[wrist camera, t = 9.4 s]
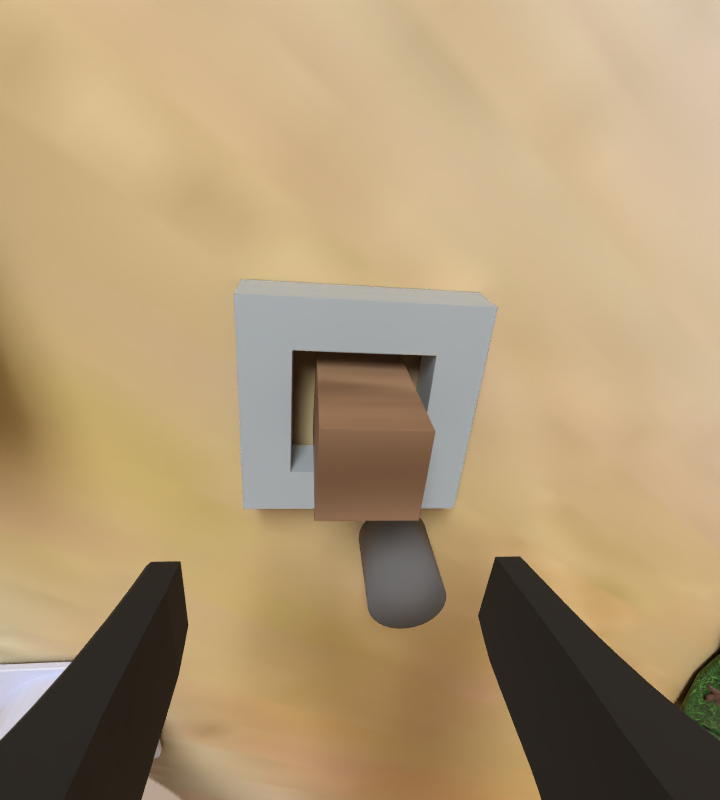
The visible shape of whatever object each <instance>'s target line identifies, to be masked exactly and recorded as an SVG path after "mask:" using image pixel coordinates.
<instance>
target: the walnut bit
mask: <svg viewBox="0 0 720 800" xmlns="http://www.w3.org/2000/svg"><path fill="white" fill-rule="evenodd" d="M435 432H436V431H435V429H434V427H433V425H432V423H431V421H430V418H429V416H428V414H427V412H426V410H425V408H424V406H423V403H422V401H421V399H420V397H419V395H418V393H417V390H416V388H415V386H414V384H413V382H412V380H411V378H410V375H409V373H408V371H407V369H406V367H405V365H404V362H403V360H402V358H401V356H400V355H387V354H365V353H343V352H321V351H316V372H315V393H314V414H313V459H314V521H419V517H420V512H421V506H422V501H423V496H424V490H425V485H426V480H427V475H428V469H429V464H430V459H431V453H432V448H433V443H434V437H435Z"/></svg>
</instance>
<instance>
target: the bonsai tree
mask: <svg viewBox="0 0 720 800" xmlns="http://www.w3.org/2000/svg"><path fill="white" fill-rule="evenodd" d="M679 709H680V710H682V711H683V712H684V713H685V714H686V715H688V716H689V717H690V718H691V719H693V720H694V721H695V722H696V723H697V724H699V725H700V726H701V727H703V728H704V729H705V730H706V731H708V732H709V733H710V734H712V735H713V736H714V737H715V738H717V739H718V740H719V741H720V653H719V654H718V655H717V656H716V657H715V658H714V659H712V660H711V661H710V662H709V663H708V664H706V665H705V666H704V667H703V668H702V669H701V670H699V672H698V674H697V676H696V677H695V679H694V681H693V683H692V685H691V687H690V689H689V691H688V693H687V695H686V696H685V698H684V700H683V702H682V704H681V706H680V708H679Z"/></svg>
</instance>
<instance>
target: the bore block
mask: <svg viewBox="0 0 720 800" xmlns="http://www.w3.org/2000/svg"><path fill="white" fill-rule="evenodd" d="M234 307H235V330H236V352H237V375H238V398H239V420H240V443H241V466H242V488H243V509H314V459H313V445H292V405H293V350H300V351H326V352H352V353H378V354H404V355H422V357H421V363H420V370H419V377H418V383H417V393H418V395H419V397H420V399H421V401H422V403H423V406H424V408H425V410H426V412H427V414H428V416H429V418H430V421H431V423H432V425H433V427H434V429H435V431H436V432H435V437H434V443H433V448H432V453H431V459H430V464H429V469H428V475H427V480H426V485H425V490H424V496H423V501H422V506H421V508H454V505H455V500H456V495H457V491H458V486H459V482H460V477H461V473H462V468H463V464H464V459H465V455H466V450H467V445H468V441H469V436H470V432H471V427H472V423H473V418H474V414H475V409H476V404H477V400H478V395H479V391H480V386H481V382H482V377H483V373H484V368H485V364H486V359H487V354H488V350H489V345H490V341H491V336H492V332H493V327H494V323H495V318H496V313H497V309H498V307H497V306H496V305H494V304H493V303H492V302H491V301H489V300H488V299H487V298H485V297H484V296H483V295H482V294H480V293H478V292H460V291H442V290H425V289H407V288H389V287H372V286H354V285H337V284H319V283H301V282H284V281H266V280H248V279H241V281H240V283H239V285H238V287H237V289H236V290H235V292H234Z"/></svg>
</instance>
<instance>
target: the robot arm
mask: <svg viewBox="0 0 720 800" xmlns="http://www.w3.org/2000/svg"><path fill="white" fill-rule="evenodd" d="M478 617H479V621H480V625H481V629H482V633H483V637H484V641H485V645H486V648H487V652H488V656H489V659H490V662H491V665H492V668H493V671H494V673H495V676H496V679H497V681H498V684H499V687H500V689H501V692H502V694H503V697H504V700H505V702H506V705H507V708H508V710H509V713H510V715H511V718H512V720H513V723H514V726H515V728H516V731H517V733H518V736H519V739H520V741H521V744H522V746H523V749H524V752H525V754H526V757H527V759H528V762H529V765H530V767H531V770H532V773H533V776H534V779H535V781H536V784H537V787H538V790H539V793H540V796H541V800H720V741H719V740H718V739H717V738H715V737H714V736H713V735H712V734H710V733H709V732H708V731H706V730H705V729H704V728H703V727H701V726H700V725H699V724H697V723H696V722H695V721H694V720H693V719H691V718H690V717H689V716H688V715H686V714H685V713H684V712H683V711H682V710H680V709H679V708H678V707H677V706H675V705H674V704H673V703H672V702H671V701H669V700H668V699H667V698H666V697H664V696H663V695H662V694H661V693H660V692H659V691H657V690H656V689H655V688H654V687H653V686H652V685H651V684H649V683H648V682H647V681H646V680H645V679H644V678H643V677H642V676H640V675H639V674H638V673H637V672H636V671H635V670H634V669H633V668H632V667H631V666H629V665H628V664H627V663H626V662H625V661H624V660H623V659H622V658H621V657H619V656H618V655H617V654H616V653H615V652H614V651H613V650H612V649H611V648H610V647H609V646H608V645H607V644H606V643H605V642H604V641H603V640H602V639H600V638H599V637H598V636H597V635H596V634H595V633H594V632H593V631H592V630H591V629H590V628H589V627H588V626H587V625H586V624H585V623H584V622H583V621H582V620H581V619H580V618H579V617H578V616H577V615H576V614H575V613H574V612H573V611H572V610H571V609H570V608H569V607H568V606H567V605H566V604H565V603H564V602H563V601H562V600H561V598H560V597H559V596H558V595H557V594H556V593H555V592H554V591H553V590H552V589H551V588H550V587H549V586H548V585H547V584H546V583H545V582H544V581H543V580H542V579H541V578H540V577H539V576H538V575H537V574H536V573H535V571H534V570H533V569H532V568H531V567H530V566H529V565H528V564H527V563H526V562H525V561H524V560H523V559H522V558H521V557H495V560H494V564H493V567H492V570H491V574H490V577H489V581H488V584H487V587H486V591H485V594H484V598H483V601H482V604H481V608H480V611H479V615H478ZM187 629H188V619H187V611H186V603H185V594H184V586H183V578H182V570H181V562H151V563H149V564H148V565H147V566H146V567H145V569H144V570H143V571H142V573H141V574H140V576H139V577H138V578H137V580H136V581H135V582H134V584H133V585H132V587H131V588H130V589H129V591H128V592H127V593H126V595H125V596H124V597H123V599H122V600H121V601H120V603H119V604H118V605H117V606H116V608H115V609H114V610H113V612H112V613H111V614H110V616H109V617H108V618H107V619H106V621H105V622H104V623H103V624H102V626H101V627H100V628H99V629H98V631H97V632H96V633H95V634H94V635H93V637H92V638H91V639H90V640H89V642H88V643H87V644H86V645H85V646H84V648H83V649H82V650H81V651H80V653H79V654H78V655H77V656H76V657H75V659H74V660H73V661H72V662H48V663H24V664H0V800H141V799H142V795H143V792H144V788H145V785H146V782H147V779H148V776H149V772H150V769H151V766H152V762H153V759H156V758H158V757H159V756H160V754H161V750H162V747H161V743H160V736H161V732H162V729H163V726H164V723H165V719H166V716H167V712H168V709H169V706H170V702H171V699H172V696H173V692H174V689H175V685H176V682H177V679H178V675H179V670H180V665H181V660H182V655H183V650H184V645H185V639H186V634H187Z"/></svg>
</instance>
